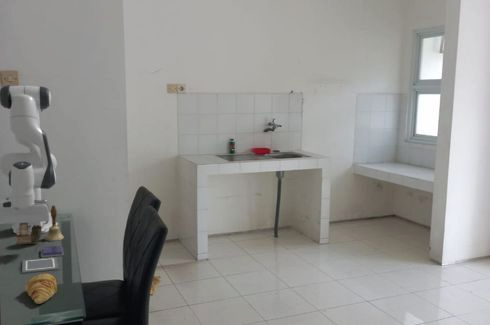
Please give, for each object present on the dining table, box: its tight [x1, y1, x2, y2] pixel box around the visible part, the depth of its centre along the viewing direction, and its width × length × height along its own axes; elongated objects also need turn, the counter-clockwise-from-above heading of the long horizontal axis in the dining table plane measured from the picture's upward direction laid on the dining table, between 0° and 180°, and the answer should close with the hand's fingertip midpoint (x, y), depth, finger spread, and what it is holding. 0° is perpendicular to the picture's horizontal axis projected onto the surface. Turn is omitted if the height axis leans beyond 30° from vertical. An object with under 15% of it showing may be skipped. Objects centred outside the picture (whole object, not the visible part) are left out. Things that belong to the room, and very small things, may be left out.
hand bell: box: [44, 205, 65, 242], centre depth 220 cm, size 8×8×16 cm
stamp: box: [16, 223, 31, 245], centre depth 198 cm, size 6×6×8 cm
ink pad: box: [40, 245, 65, 258], centre depth 202 cm, size 9×9×2 cm
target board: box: [21, 256, 59, 274], centre depth 188 cm, size 13×13×1 cm
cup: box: [28, 225, 42, 246], centre depth 212 cm, size 8×7×8 cm
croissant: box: [24, 272, 58, 305], centre depth 163 cm, size 21×10×8 cm, turn 20°
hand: (23, 232), depth 198 cm, fingers closed on stamp, 3 cm apart
